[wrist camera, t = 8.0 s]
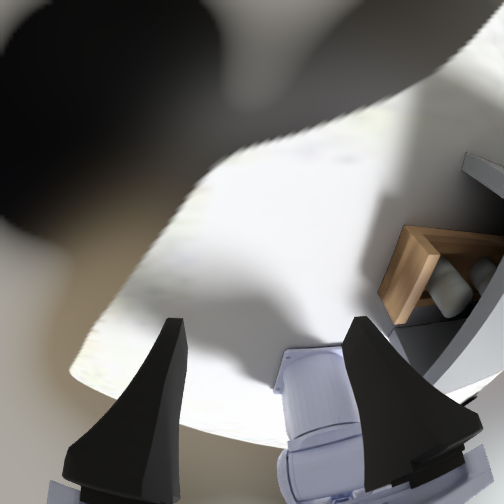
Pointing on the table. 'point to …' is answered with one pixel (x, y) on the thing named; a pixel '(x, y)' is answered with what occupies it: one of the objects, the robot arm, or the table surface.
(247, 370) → the table surface
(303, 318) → the table surface
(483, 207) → the table surface
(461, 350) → the grey low stand
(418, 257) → the teak tray
